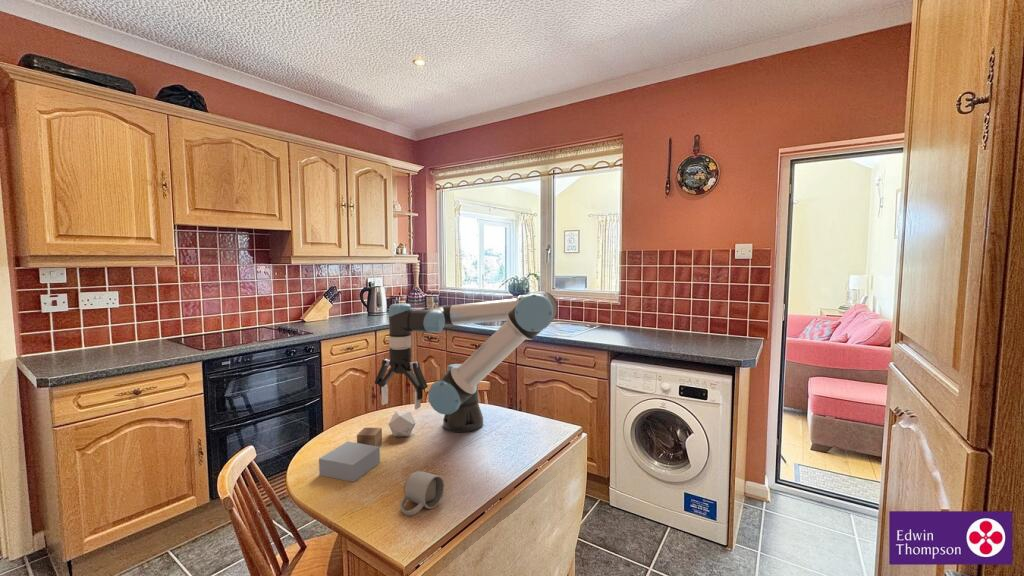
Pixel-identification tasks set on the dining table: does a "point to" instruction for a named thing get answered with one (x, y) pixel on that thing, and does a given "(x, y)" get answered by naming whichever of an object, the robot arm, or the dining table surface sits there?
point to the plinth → (349, 461)
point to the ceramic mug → (422, 491)
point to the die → (402, 423)
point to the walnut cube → (370, 436)
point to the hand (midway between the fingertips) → (400, 405)
